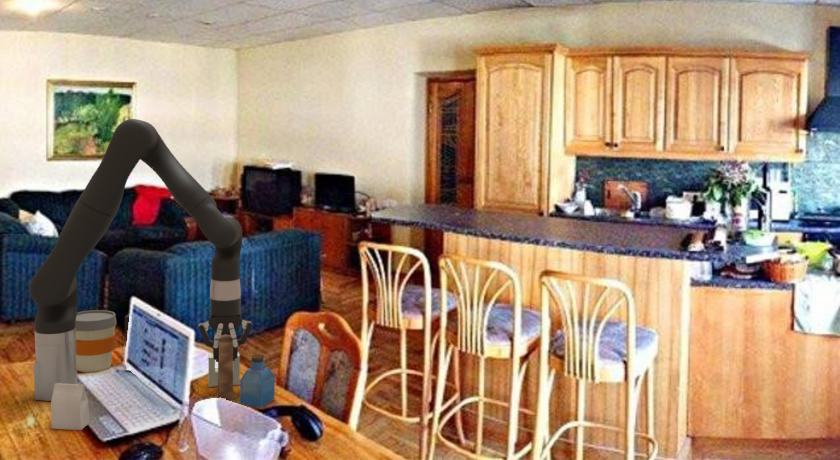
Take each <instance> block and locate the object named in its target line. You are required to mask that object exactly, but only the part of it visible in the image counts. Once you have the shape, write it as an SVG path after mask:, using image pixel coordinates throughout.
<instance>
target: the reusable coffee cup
mask: <svg viewBox="0 0 840 460" xmlns="http://www.w3.org/2000/svg"><path fill="white" fill-rule="evenodd" d="M117 324H118V323H117V317H116V313H115V312H114V311H111V310H104V309H100V310H98V309H94V310H93V309H92V310H82V311H77V316H76V322H75V326H76V327H75V328H76V360H77V372H81V373H82V372H83V373H95V372H101V371H105V370H107V369H109V368H111V364H112V358H113V356H112V355H113V350H114V349H115V345H116V336H117V335H116V331H115V330H116V325H117Z"/></svg>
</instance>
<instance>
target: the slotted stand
mask: <svg viewBox="0 0 840 460" xmlns="http://www.w3.org/2000/svg"><path fill="white" fill-rule="evenodd" d="M240 356H241V355H240V352H239V351H238V357H237V359H235V361H233V386H240V380H241V378H240V377H241V376H240V370H241V369H240V366H241V364H240V362H241V361H240V360H241V359H240ZM207 359H208V387H210V388H211V387H218V367H216V360H214V359H213V353H208V358H207Z"/></svg>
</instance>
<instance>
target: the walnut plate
mask: <svg viewBox="0 0 840 460" xmlns="http://www.w3.org/2000/svg"><path fill="white" fill-rule="evenodd" d="M218 347H219V362H217V368H218V386H217V391H218V398H219V397H221V398H226V399H229V400H234V385H233V340H232V338H231V335H227V334H225V335H221V337H220V340H219V345H218Z"/></svg>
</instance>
